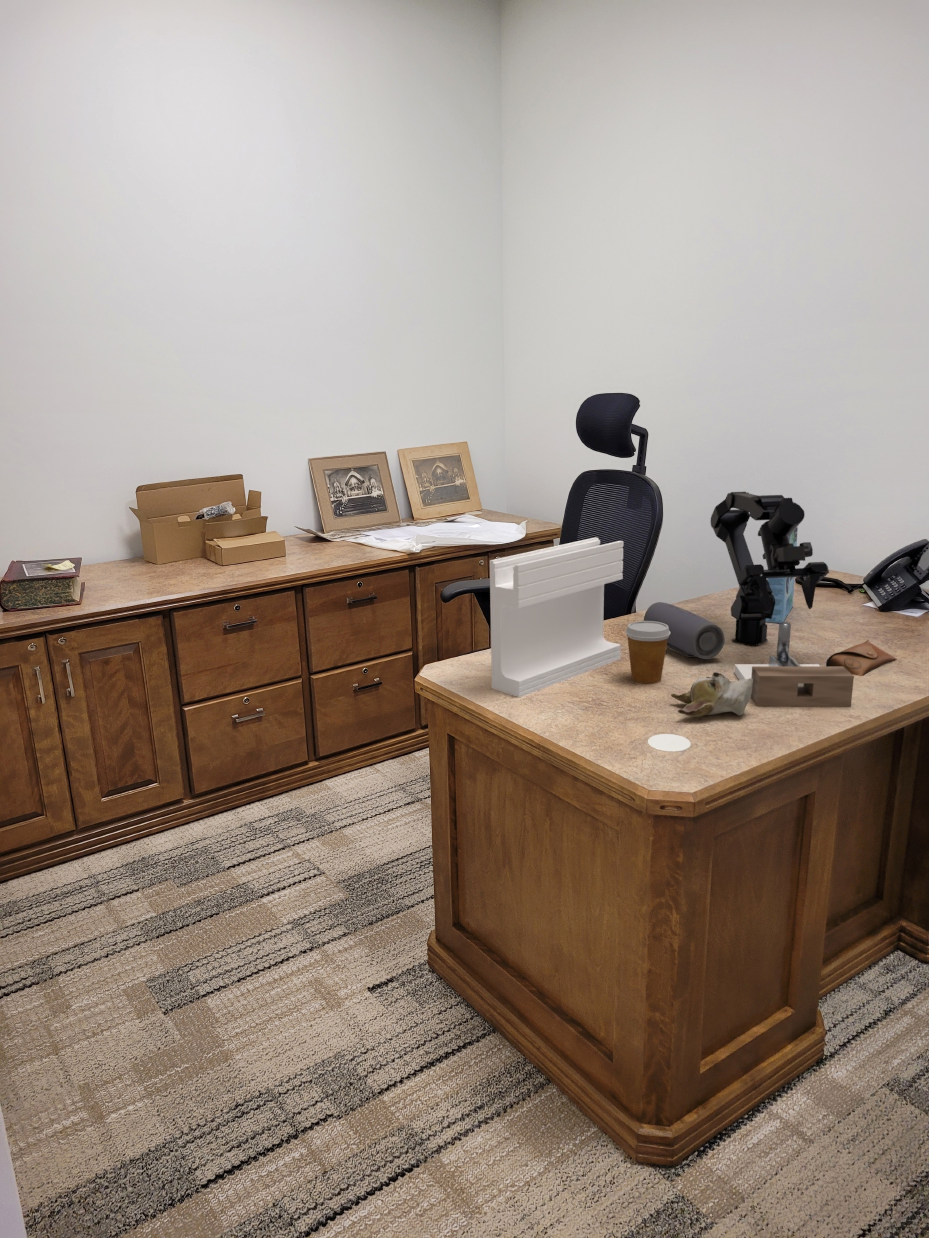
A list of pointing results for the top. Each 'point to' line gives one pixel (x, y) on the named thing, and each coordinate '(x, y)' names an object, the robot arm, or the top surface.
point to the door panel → (746, 669)
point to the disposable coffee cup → (647, 650)
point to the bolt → (783, 643)
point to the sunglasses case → (860, 658)
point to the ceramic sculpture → (716, 696)
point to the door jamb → (817, 691)
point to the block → (551, 614)
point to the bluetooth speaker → (687, 631)
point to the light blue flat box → (783, 591)
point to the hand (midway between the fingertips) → (790, 609)
